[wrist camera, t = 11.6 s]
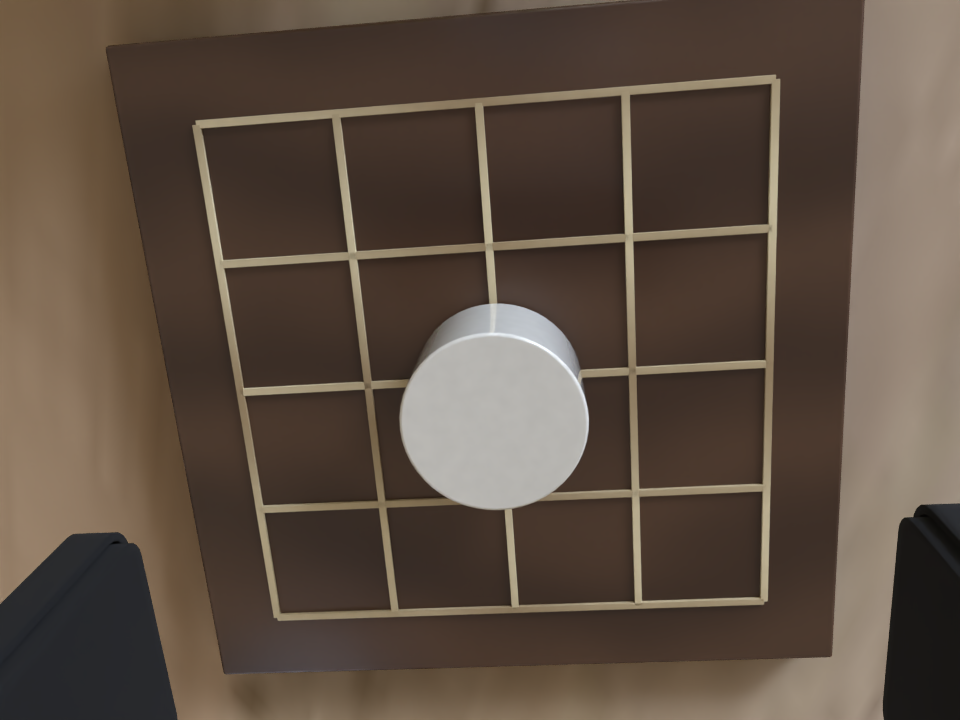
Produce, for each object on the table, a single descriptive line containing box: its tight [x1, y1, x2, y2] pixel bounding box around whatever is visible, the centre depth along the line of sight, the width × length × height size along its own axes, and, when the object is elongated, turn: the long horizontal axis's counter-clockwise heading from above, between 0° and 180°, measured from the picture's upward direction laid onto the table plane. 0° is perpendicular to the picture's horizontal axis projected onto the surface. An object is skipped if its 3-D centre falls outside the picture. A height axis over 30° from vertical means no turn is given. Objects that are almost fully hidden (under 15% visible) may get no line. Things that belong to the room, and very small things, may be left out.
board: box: [106, 0, 865, 674], centre depth 23 cm, size 18×18×1 cm
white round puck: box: [399, 304, 589, 510], centre depth 21 cm, size 4×4×3 cm
